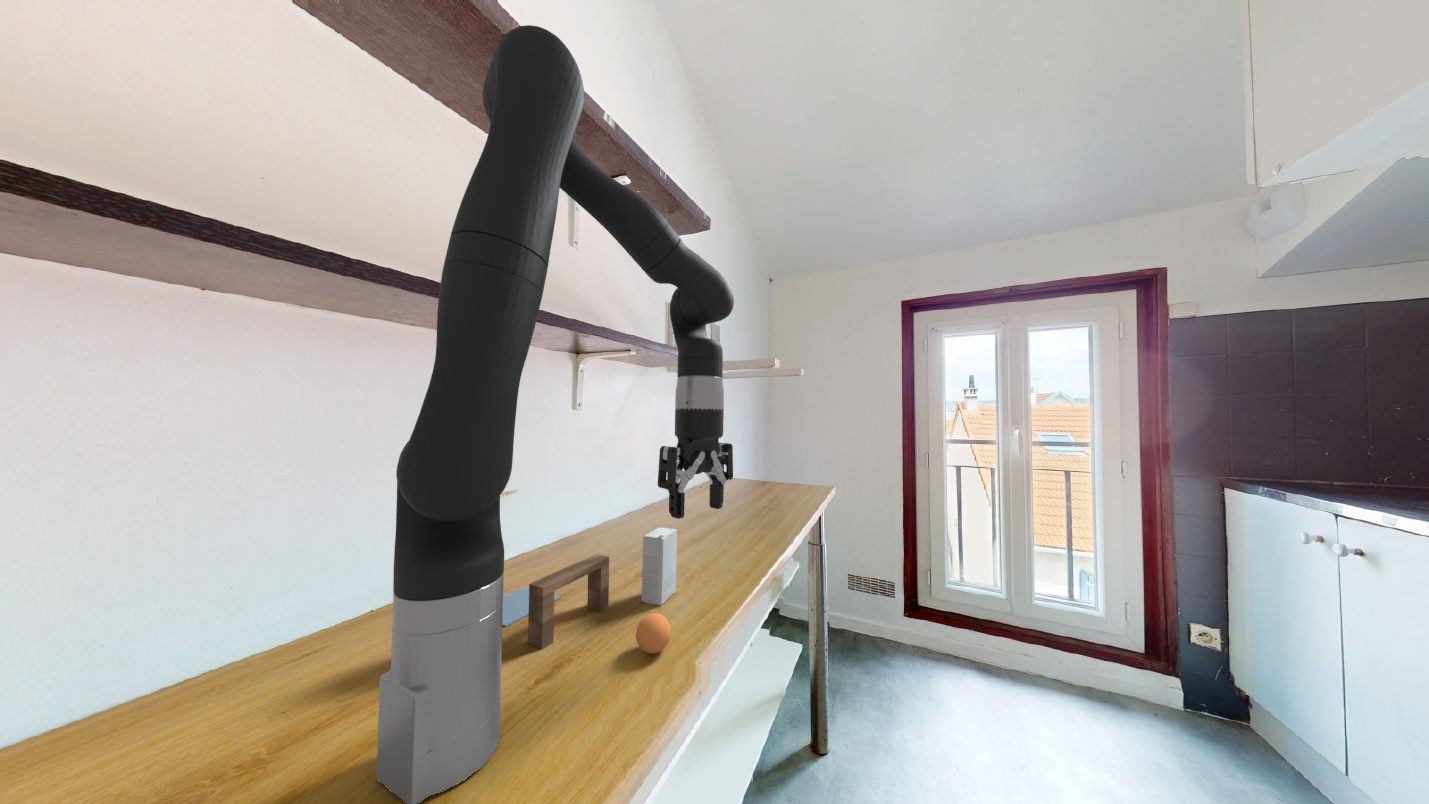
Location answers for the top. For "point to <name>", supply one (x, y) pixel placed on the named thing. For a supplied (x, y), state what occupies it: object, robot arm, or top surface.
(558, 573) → the bridge
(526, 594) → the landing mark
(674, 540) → the skincare box
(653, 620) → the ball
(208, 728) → the top surface
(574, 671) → the top surface
